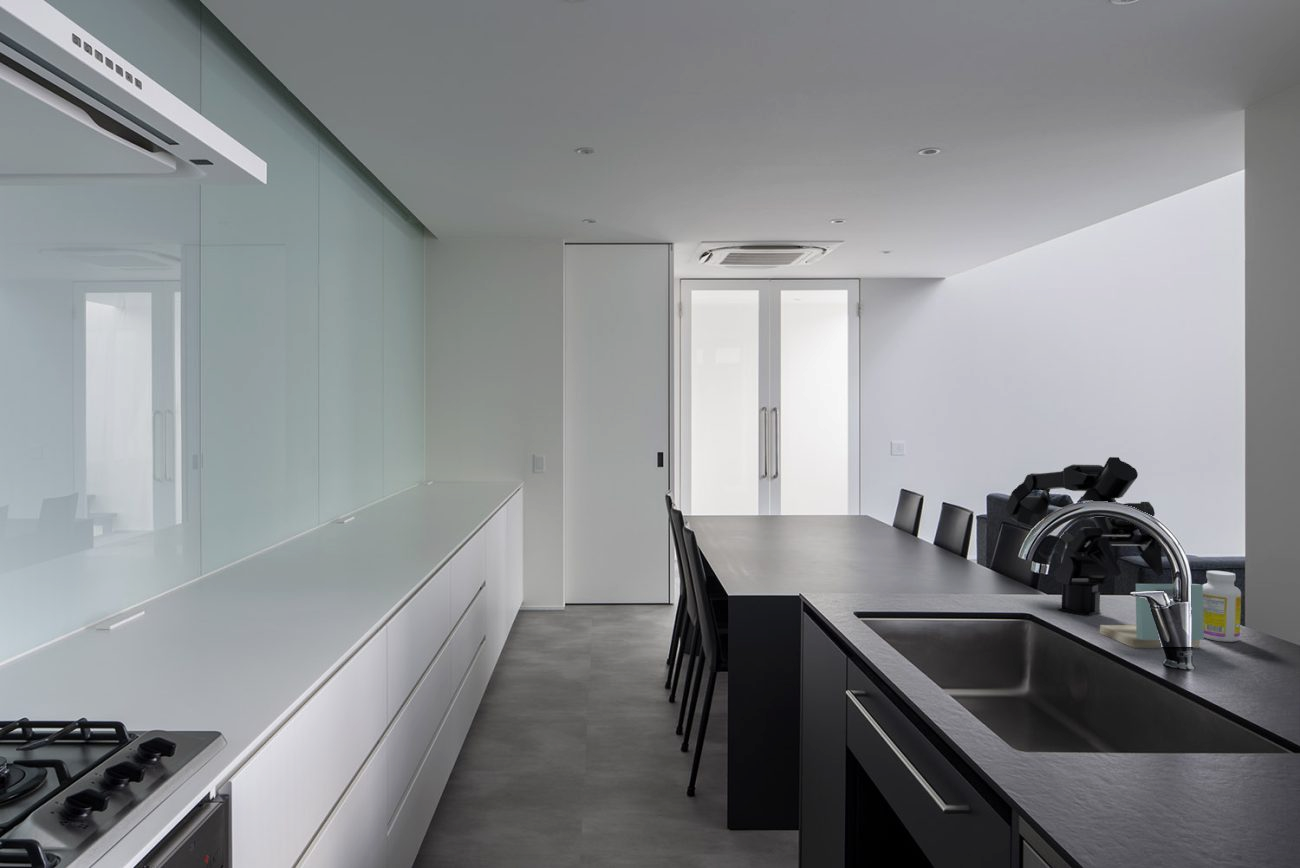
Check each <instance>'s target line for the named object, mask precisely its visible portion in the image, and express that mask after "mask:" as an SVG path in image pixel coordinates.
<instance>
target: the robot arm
mask: <svg viewBox="0 0 1300 868" xmlns="http://www.w3.org/2000/svg"><path fill="white" fill-rule="evenodd" d="M1138 476H1139V475H1138V472H1137V469H1136V468H1135V467H1133V466H1132V465H1131V464H1129V463H1128V462H1125V461H1123V460H1121V459H1120V457H1118V456H1116V457H1115V456H1109V457H1108V458H1107V460H1106V462H1105V464H1104V466H1102V465H1100V464H1071V465H1068V466H1066V467H1064V468H1063V470H1061V471H1052V472H1043V473H1030V474H1027V475H1026V477H1025V478H1024V481H1023V482H1022V483H1020V484H1019V485H1018V486H1017V487H1016V488H1014V490H1012V491H1011V494H1010V496H1009V497H1008V500H1007V502H1006V505H1005V507H1006V513H1007V514H1008V515H1009V517H1010V518H1011V519H1012V520H1014V521H1015V522H1016V523H1019V524H1021V525H1025V526H1027V527H1030V528H1031V529H1033V527H1034V526H1035V525H1036V524H1037V523H1038V522H1039V521H1041V520H1042V519H1043V518H1044V517H1046V516H1047V515H1050V514H1049V506H1050V505H1051V502H1052V499H1051V495H1050V491H1051V490H1055V489H1058V490H1059V489H1065V490H1067V491H1073V492H1084V494H1083V495H1082V496H1080V499H1079V502H1081V501H1083V500H1093V501H1108V502H1116V503H1118V502H1117V500H1116V499H1121V498H1122V497H1124V495H1125V494H1126V493H1127V491H1128V490H1129V489H1130V488H1131V486H1132V485H1133V483H1134V482H1135V481H1136V479H1138ZM1033 491H1042V493H1041V495H1040V496H1039V495H1030V494H1031V493H1032V492H1033ZM1123 504H1124V505H1128V506H1132V507H1135V508H1137V509H1139V510H1141V511H1143V512H1146V513H1148V514H1150V515H1152V516H1153V517H1154V516H1155V514H1156V513H1155V510H1154V507H1153V505H1152V504H1151V503H1150V501H1140V503H1139V502H1138V503H1137V502H1136V503H1135V502H1132V503H1131V502H1128V503H1127V502H1126V503H1123ZM1091 519H1092V522H1091V524H1090V526H1089V527H1088V526H1086V527H1085V526H1081V527H1080V529H1078V531H1077V533H1075V536H1073V535H1072V534H1070V532H1068V531H1067V530H1066V531H1065V532H1064V534H1063V535H1062V536H1061V538H1060V539H1059V541H1058V543H1057V545H1056V547H1055V549H1053V551H1054V552H1056V553H1057V554H1058V555H1059V556H1060V557H1061V559H1060V564H1059V565H1058V567H1057V568H1056V569H1055V570H1054V575H1055V576H1054V577H1055V581H1056V582H1058V583H1061V584H1062V585H1061V586H1062V587H1061V588H1062V589H1061V606H1060V607H1057V610H1058V611H1061V612H1068V613H1072V614H1078V615H1084V616H1087V617H1088V616H1092V615H1095V614H1097V613H1100V612H1101V609H1100V608H1101V607H1100V603H1101V592H1100V591H1099V586H1106V582H1107V578H1108V576H1109V572H1110V573H1112V574H1113V575H1114V576H1115V577H1120V576H1121V575H1122V572H1121V569H1120V566H1119V564H1118V562H1117V560H1116V558H1115V556H1114V555H1113V554H1114V553H1112V551H1111V548H1110V546H1115V547H1117V546H1119V547H1121V546H1122V547H1123V546H1125V547H1126V546H1130V547H1131V546H1132V547H1133V546H1136V548H1137V549H1138V551H1139V552H1140V555H1139V556H1140V557H1141V559H1142V560H1143V561H1144V562H1145V563H1146V565H1147V567H1149V568H1150V569H1151V570H1152V572H1154V574H1156V576H1158V577H1160V578H1161V577H1162V576H1163V575H1164V568H1163V559H1162V551H1163V550H1162V548H1161V546H1160V545H1159V543H1158V542H1157V540H1156V539H1155V538H1153V537H1152V536H1150V535H1149V534H1147V533H1145V531H1144V532H1143V533H1142V534H1135V531H1138V530H1139V528H1140V527H1137V526H1136V525H1134V524H1132V523H1129V522H1126V521H1123V520H1119V519H1113V518H1107V517H1094V518H1091Z"/></svg>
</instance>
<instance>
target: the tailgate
mask: <svg viewBox="0 0 1300 868" xmlns="http://www.w3.org/2000/svg"><path fill="white" fill-rule="evenodd" d="M1174 584H1175V583H1135V593H1136V592H1138V591H1164V592H1165V593H1167V595H1168V596H1169V598H1170V599H1172V598H1173V596H1174V594H1173V588H1174ZM1190 584H1191V607H1192V610H1191V614H1192V640H1200V641H1203V640H1204V639H1205V638H1204V622H1203V584H1198V583H1190ZM1135 617H1136V618H1135V619H1136V620H1135V622H1136V624H1135V625H1136V631H1137V639H1141V640H1159V636H1158V632H1157V628H1156V625H1155V622H1154V619H1153V616H1152V612H1151V608H1150V605H1149V602H1148V601H1147V600H1146V599H1145V598H1140V597H1137V596H1136V595H1135Z"/></svg>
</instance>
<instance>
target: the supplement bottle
mask: <svg viewBox="0 0 1300 868" xmlns="http://www.w3.org/2000/svg"><path fill="white" fill-rule="evenodd" d="M1205 577H1206V579H1207V580H1206V581H1207V582H1206V583H1203V584H1202V585H1203V622H1204V639H1207V640H1211V641H1215V642H1223V643H1233V642H1234V643H1236V642H1237V641H1239V640H1240V638H1241V637H1240V636H1241V615H1242V613H1241V612H1242V611H1241V610H1242V609H1241V607H1242V592H1241V589H1240V588H1238V587H1237V586H1235V582H1236V579H1237V578H1236V573H1234V572H1230V571H1223V570H1206V575H1205Z"/></svg>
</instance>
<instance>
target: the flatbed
mask: <svg viewBox="0 0 1300 868" xmlns="http://www.w3.org/2000/svg"><path fill="white" fill-rule="evenodd" d="M1099 634H1100V635H1103V636H1106V637H1108V638H1110V639H1112V640H1114V641H1117V642H1120V643H1121V644H1124V645H1126V646H1128V647H1131V648H1134V649H1136V648H1137V649H1139V648H1141V649H1143V648H1147V649H1149V648H1151V649H1155V648H1157V649H1159V648H1161V643H1160V640H1141V639H1137V631H1136V624H1100V625H1099ZM1200 641H1201V640H1192V646H1193V648H1198V649H1199V648H1200ZM1193 648H1192V649H1193ZM1161 649H1162V648H1161Z"/></svg>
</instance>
